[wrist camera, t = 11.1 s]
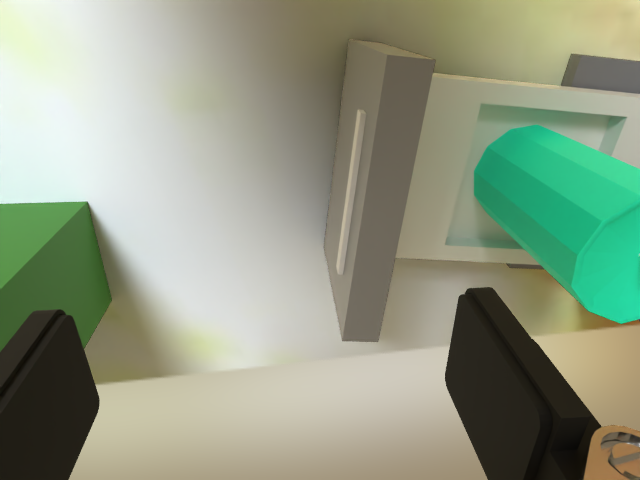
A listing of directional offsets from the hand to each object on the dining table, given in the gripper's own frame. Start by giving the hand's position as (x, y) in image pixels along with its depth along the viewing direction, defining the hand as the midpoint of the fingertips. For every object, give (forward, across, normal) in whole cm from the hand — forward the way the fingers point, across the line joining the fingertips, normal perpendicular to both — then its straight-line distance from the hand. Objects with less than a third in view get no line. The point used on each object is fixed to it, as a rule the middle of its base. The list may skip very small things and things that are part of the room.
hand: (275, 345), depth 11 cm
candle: (+16, -15, +2) cm, 22 cm away
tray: (+18, -13, +2) cm, 22 cm away
